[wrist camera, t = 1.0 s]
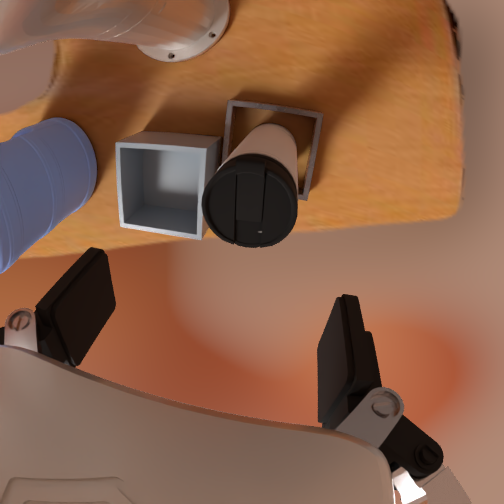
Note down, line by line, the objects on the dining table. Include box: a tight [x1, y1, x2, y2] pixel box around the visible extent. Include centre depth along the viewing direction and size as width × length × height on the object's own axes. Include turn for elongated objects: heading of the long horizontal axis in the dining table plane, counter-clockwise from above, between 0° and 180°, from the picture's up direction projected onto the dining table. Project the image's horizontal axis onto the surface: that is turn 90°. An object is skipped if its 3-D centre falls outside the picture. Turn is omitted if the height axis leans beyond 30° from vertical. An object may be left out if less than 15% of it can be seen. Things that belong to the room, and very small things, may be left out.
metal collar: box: [222, 99, 323, 201], centre depth 35 cm, size 11×11×2 cm
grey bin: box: [116, 131, 222, 240], centre depth 36 cm, size 11×11×7 cm
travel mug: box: [201, 123, 298, 248], centre depth 27 cm, size 6×7×20 cm
